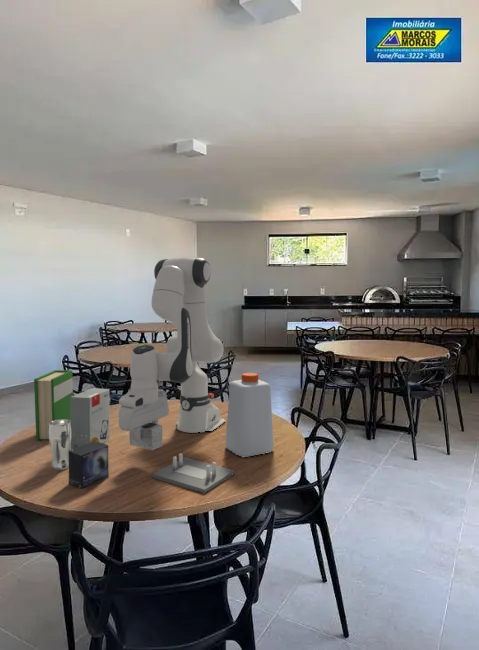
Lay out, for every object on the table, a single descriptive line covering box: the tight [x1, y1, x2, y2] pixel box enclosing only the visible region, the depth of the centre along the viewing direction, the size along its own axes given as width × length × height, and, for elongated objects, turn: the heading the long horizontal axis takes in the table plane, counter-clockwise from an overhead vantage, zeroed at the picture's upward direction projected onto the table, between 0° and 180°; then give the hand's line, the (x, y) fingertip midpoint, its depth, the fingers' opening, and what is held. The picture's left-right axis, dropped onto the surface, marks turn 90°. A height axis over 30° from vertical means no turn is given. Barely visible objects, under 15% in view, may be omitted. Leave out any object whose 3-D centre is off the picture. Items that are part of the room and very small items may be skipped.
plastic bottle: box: [225, 372, 274, 458], centre depth 165 cm, size 15×15×28 cm
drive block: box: [128, 422, 164, 451], centre depth 152 cm, size 5×10×7 cm, turn 58°
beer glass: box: [48, 419, 72, 471], centre depth 149 cm, size 7×7×15 cm
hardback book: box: [33, 369, 74, 442], centre depth 182 cm, size 18×7×24 cm, turn 178°
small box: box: [68, 441, 110, 489], centre depth 139 cm, size 11×6×10 cm, turn 148°
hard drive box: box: [70, 387, 111, 450], centre depth 169 cm, size 16×8×20 cm, turn 168°
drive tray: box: [152, 453, 236, 494], centre depth 143 cm, size 16×20×5 cm
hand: (145, 435), depth 152 cm, fingers closed on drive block, 5 cm apart
